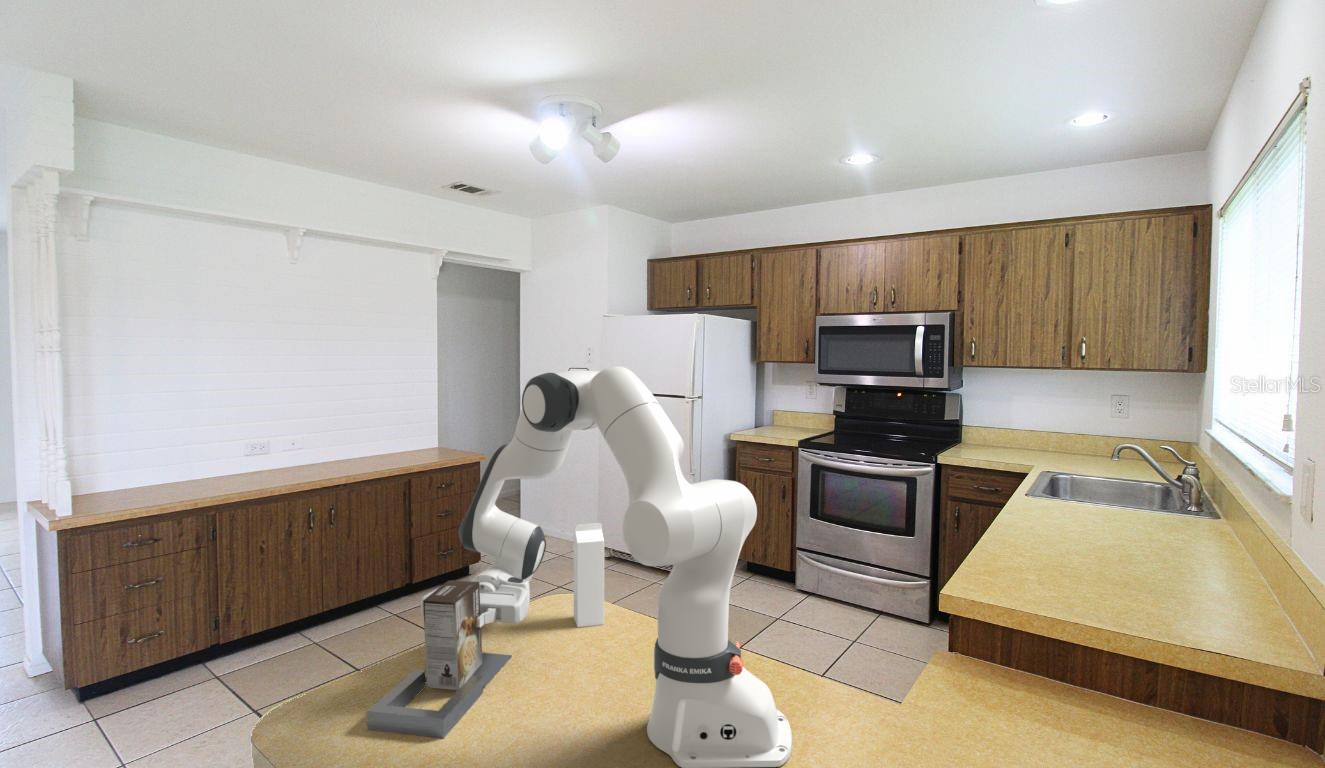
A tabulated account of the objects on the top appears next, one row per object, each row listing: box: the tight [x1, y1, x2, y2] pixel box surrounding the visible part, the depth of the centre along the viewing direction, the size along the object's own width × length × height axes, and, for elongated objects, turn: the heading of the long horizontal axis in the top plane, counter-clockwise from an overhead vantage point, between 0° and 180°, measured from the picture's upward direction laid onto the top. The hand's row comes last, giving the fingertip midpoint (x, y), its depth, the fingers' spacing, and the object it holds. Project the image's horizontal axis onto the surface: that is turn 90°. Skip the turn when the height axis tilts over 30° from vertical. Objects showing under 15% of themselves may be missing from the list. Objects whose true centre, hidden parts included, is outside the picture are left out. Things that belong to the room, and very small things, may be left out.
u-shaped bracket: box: [366, 669, 484, 739], centre depth 104 cm, size 13×14×3 cm
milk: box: [573, 522, 605, 628], centre depth 140 cm, size 6×6×22 cm
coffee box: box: [423, 580, 483, 691], centre depth 113 cm, size 9×6×16 cm
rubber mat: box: [425, 652, 513, 689], centre depth 118 cm, size 12×12×1 cm
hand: (455, 621), depth 113 cm, fingers closed on coffee box, 6 cm apart
